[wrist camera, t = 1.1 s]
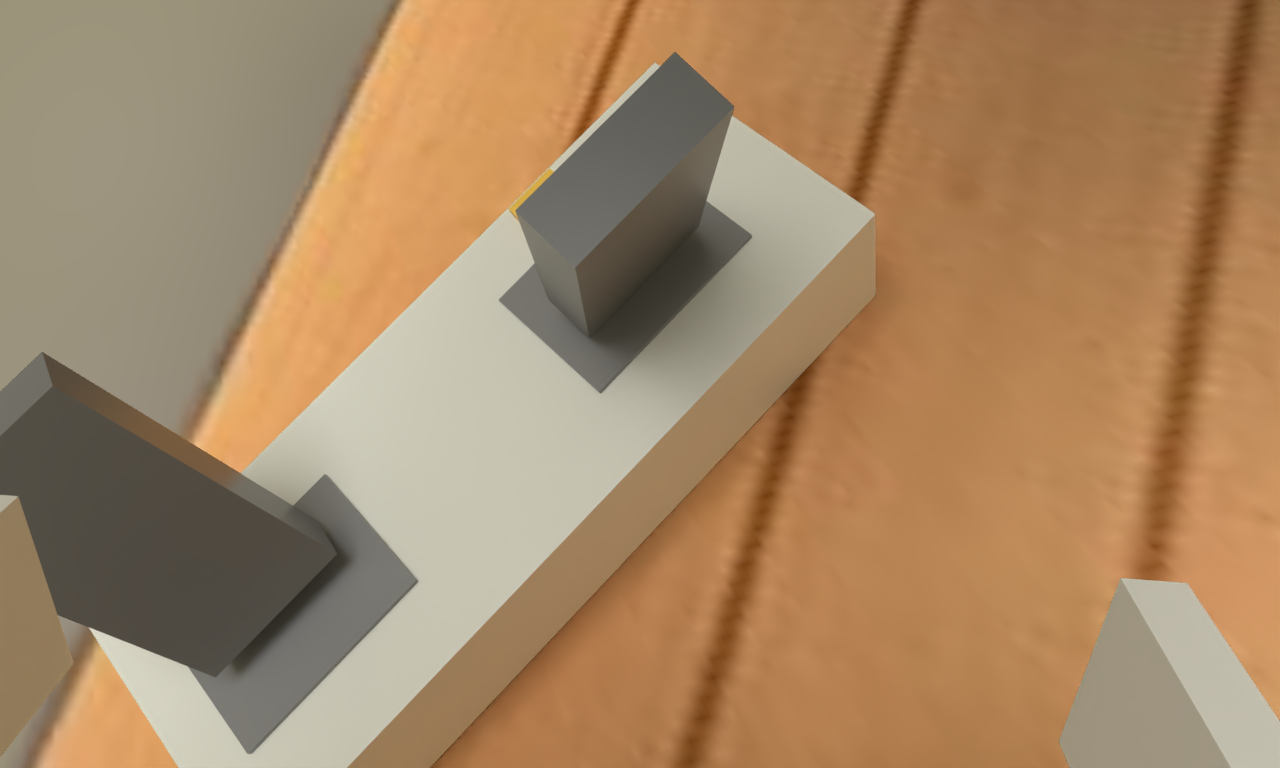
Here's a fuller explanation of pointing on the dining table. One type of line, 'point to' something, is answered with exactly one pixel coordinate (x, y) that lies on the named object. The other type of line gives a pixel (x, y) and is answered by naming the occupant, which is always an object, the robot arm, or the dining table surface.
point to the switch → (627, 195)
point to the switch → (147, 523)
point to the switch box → (510, 469)
